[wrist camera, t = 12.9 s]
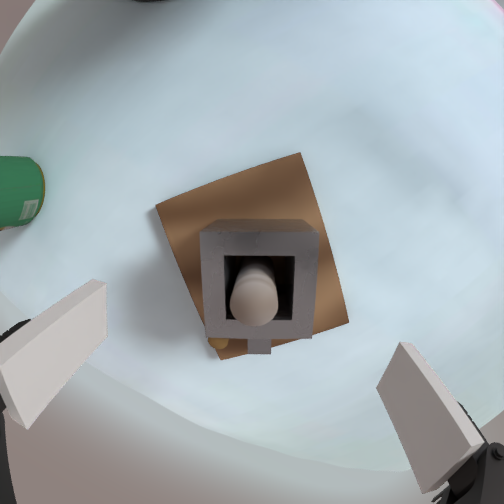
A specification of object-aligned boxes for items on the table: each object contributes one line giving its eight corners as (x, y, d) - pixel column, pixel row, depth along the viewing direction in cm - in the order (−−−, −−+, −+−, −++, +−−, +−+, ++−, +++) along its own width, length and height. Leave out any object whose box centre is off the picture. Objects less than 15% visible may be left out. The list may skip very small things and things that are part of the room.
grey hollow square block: (218, 218, 23) (199, 232, 16) (302, 219, 23) (319, 232, 16) (222, 339, 26) (210, 385, 19) (296, 340, 25) (306, 386, 19)
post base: (159, 204, 24) (108, 214, 15) (298, 153, 23) (319, 134, 14) (222, 354, 27) (207, 416, 18) (346, 317, 26) (377, 371, 17)
